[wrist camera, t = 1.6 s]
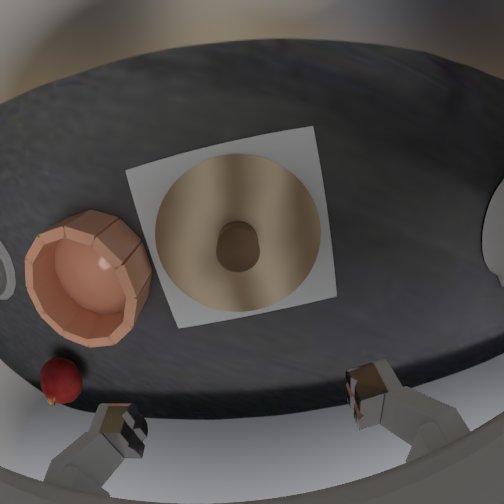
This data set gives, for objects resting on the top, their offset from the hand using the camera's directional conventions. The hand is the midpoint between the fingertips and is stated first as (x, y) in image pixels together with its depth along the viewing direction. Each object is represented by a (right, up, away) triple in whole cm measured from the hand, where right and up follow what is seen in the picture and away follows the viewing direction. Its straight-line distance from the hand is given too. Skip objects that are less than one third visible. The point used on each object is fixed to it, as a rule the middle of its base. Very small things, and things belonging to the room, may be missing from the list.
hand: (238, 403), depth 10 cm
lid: (-1, +7, +18) cm, 19 cm away
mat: (-1, +7, +18) cm, 19 cm away
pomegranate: (-24, -9, +23) cm, 35 cm away
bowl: (-15, +4, +19) cm, 24 cm away
